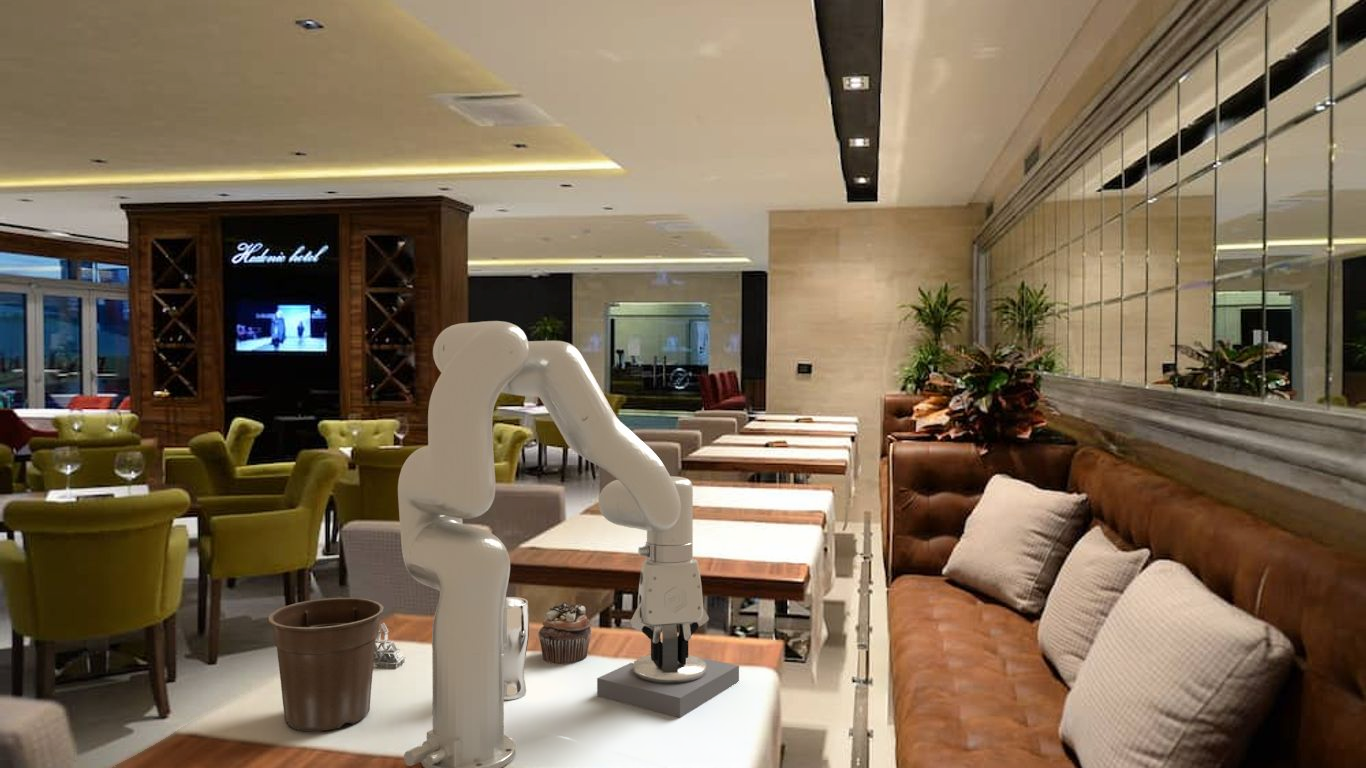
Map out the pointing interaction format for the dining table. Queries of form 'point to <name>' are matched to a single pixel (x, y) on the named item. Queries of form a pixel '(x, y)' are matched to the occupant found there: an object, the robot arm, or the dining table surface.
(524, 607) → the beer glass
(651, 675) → the dial
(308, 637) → the plant pot
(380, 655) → the house of cards
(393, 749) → the dining table surface
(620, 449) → the robot arm
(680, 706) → the control panel
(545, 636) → the cupcake
